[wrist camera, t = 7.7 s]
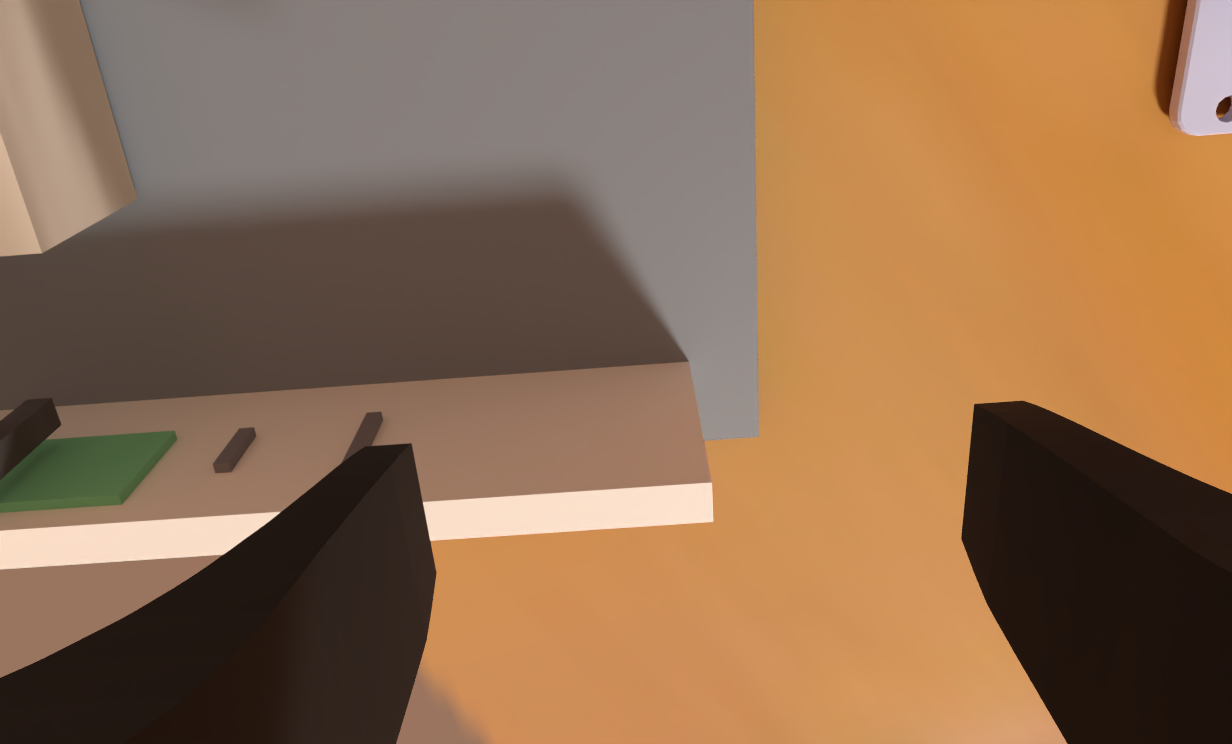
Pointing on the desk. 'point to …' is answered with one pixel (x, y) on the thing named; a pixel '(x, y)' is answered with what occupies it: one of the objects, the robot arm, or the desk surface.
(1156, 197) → the desk surface
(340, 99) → the gauge board
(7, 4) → the block
